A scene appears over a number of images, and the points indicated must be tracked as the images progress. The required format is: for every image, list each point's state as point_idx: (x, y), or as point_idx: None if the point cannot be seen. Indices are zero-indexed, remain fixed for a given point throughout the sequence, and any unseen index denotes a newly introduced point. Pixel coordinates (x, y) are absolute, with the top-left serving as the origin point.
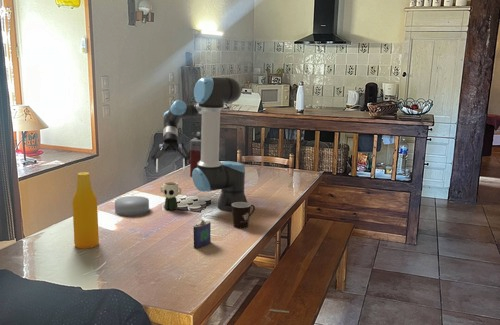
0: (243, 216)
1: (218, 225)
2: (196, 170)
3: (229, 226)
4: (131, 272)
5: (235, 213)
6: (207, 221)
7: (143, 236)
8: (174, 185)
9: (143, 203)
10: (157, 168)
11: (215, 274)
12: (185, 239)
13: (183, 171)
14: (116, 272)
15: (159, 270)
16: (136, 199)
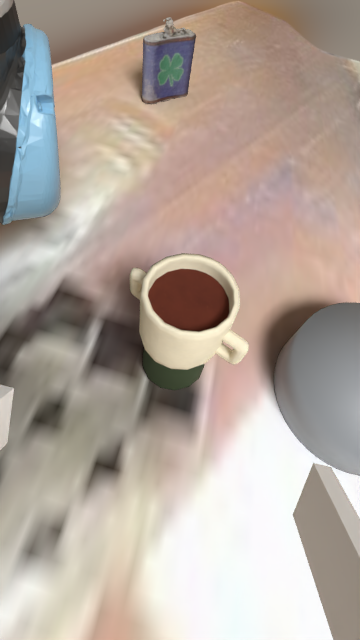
0: None
1: (69, 162)
2: (49, 48)
3: None
4: (309, 71)
5: None
6: (150, 39)
7: (293, 170)
8: (175, 256)
9: (317, 316)
10: (320, 472)
11: None
12: (193, 126)
13: (6, 432)
14: (333, 78)
15: (265, 62)
16: (358, 391)
